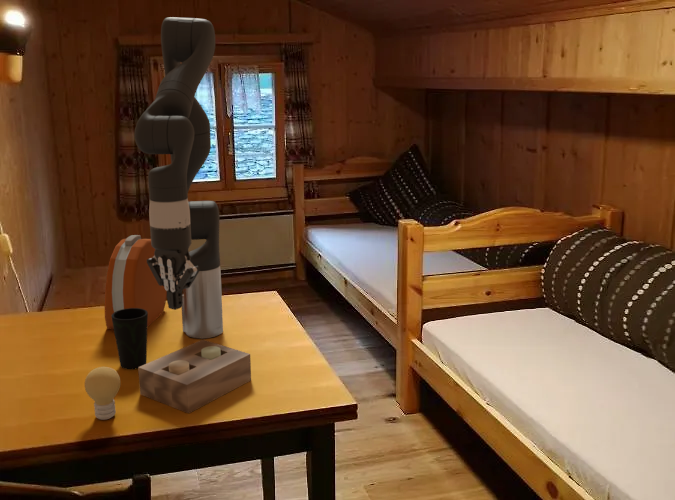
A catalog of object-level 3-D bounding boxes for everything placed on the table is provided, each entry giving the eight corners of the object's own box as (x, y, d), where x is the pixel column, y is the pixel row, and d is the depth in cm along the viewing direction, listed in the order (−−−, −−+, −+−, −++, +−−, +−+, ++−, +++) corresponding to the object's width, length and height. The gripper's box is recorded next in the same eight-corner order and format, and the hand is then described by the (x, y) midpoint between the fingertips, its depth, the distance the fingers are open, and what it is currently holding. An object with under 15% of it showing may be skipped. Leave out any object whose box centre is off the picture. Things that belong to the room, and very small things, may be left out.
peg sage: (198, 380, 150) (197, 350, 149) (212, 373, 154) (210, 344, 152) (212, 385, 148) (210, 355, 146) (225, 378, 151) (224, 349, 150)
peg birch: (166, 396, 143) (164, 365, 141) (181, 389, 146) (179, 358, 145) (180, 401, 141) (178, 370, 139) (194, 394, 144) (193, 363, 142)
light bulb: (92, 409, 138) (88, 361, 135) (126, 408, 138) (122, 360, 136) (84, 425, 132) (79, 376, 129) (119, 424, 132) (114, 375, 130)
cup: (157, 360, 161) (154, 310, 158) (138, 373, 154) (134, 321, 151) (129, 355, 163) (125, 306, 160) (108, 368, 156) (104, 317, 153)
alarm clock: (135, 305, 197) (129, 225, 191) (169, 306, 195) (164, 227, 190) (99, 334, 176) (91, 246, 170) (136, 336, 174) (130, 247, 168)
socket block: (140, 394, 144) (138, 367, 142) (204, 364, 158) (202, 339, 157) (188, 413, 136) (186, 384, 135) (251, 380, 151) (250, 354, 149)
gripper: (131, 221, 135) (137, 306, 140) (179, 230, 128) (184, 320, 132) (161, 214, 141) (166, 296, 146) (209, 223, 134) (213, 309, 138)
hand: (175, 308), depth 139 cm, fingers closed
